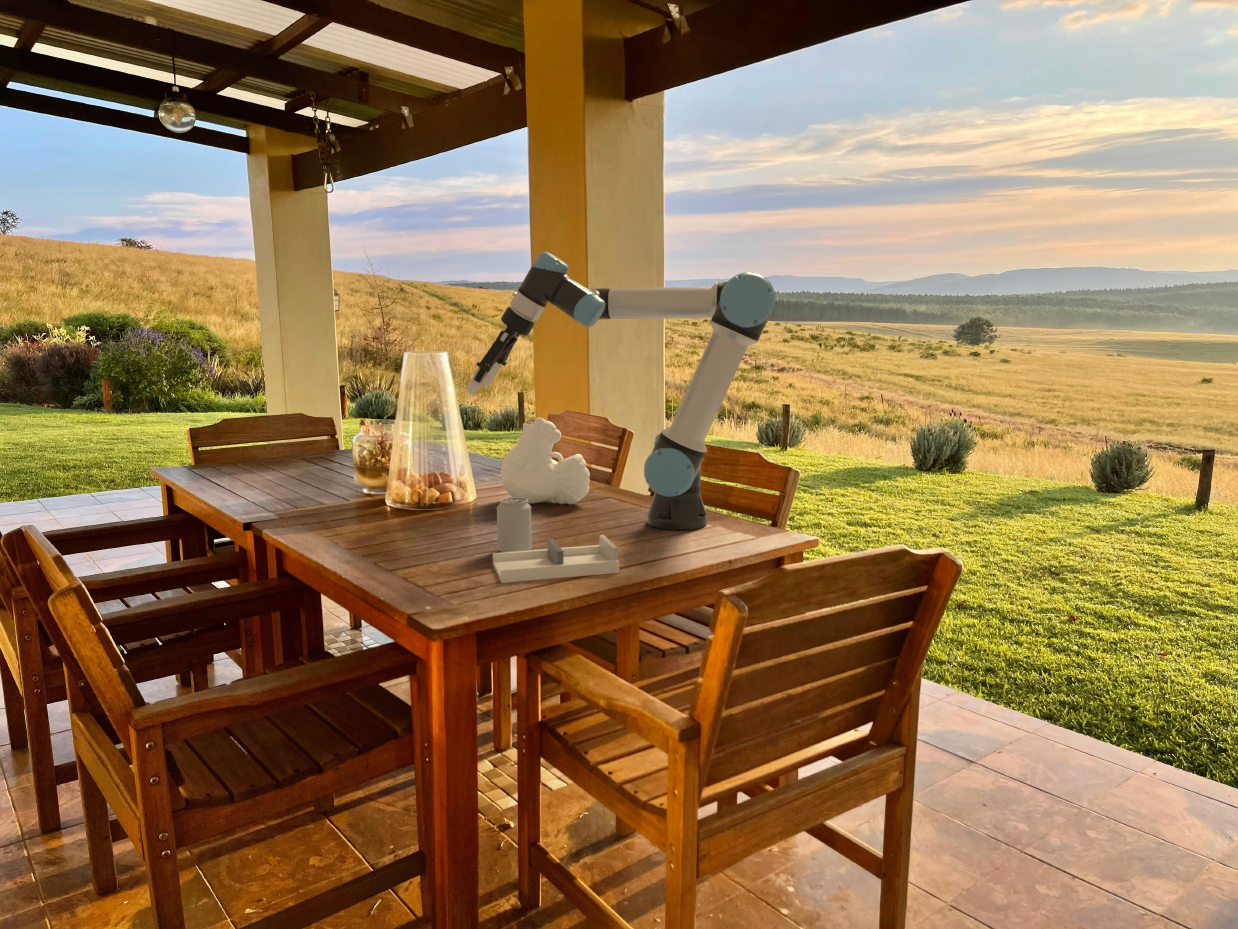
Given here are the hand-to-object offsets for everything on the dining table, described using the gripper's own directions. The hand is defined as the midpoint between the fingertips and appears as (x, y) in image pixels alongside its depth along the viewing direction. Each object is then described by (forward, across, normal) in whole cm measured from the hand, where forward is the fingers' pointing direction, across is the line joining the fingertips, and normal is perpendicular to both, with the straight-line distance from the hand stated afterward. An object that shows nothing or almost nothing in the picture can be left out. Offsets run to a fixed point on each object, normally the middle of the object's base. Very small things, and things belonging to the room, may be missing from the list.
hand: (477, 388), depth 197 cm
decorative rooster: (+25, -26, +30) cm, 46 cm away
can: (+21, +24, +29) cm, 43 cm away
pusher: (+13, +36, +37) cm, 53 cm away
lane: (+14, +36, +37) cm, 54 cm away
